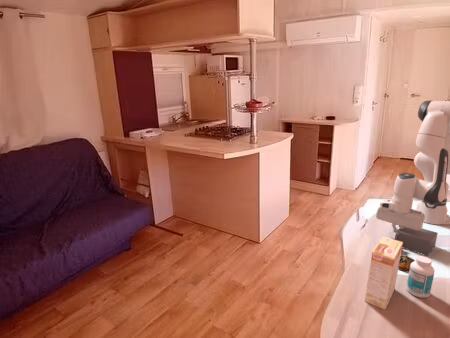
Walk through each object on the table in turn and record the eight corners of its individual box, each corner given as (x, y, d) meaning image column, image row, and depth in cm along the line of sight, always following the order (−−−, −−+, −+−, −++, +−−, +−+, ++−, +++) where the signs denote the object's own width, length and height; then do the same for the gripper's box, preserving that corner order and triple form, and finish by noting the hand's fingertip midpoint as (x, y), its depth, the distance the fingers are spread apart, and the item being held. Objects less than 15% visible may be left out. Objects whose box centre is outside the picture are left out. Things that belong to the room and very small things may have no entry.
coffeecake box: (374, 281, 120) (382, 235, 115) (395, 289, 115) (404, 241, 110) (363, 301, 108) (371, 251, 103) (385, 310, 104) (394, 258, 99)
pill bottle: (422, 286, 117) (429, 254, 114) (433, 299, 110) (441, 266, 107) (402, 285, 118) (408, 253, 114) (411, 297, 111) (418, 264, 107)
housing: (404, 236, 157) (407, 224, 155) (434, 246, 148) (437, 232, 146) (396, 245, 148) (398, 232, 146) (427, 256, 139) (430, 241, 137)
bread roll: (423, 275, 124) (423, 264, 123) (391, 272, 128) (391, 261, 127) (417, 262, 134) (417, 251, 133) (388, 260, 138) (388, 249, 138)
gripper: (427, 211, 145) (422, 237, 148) (381, 199, 159) (377, 224, 162) (423, 214, 140) (418, 242, 144) (376, 202, 154) (372, 227, 158)
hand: (396, 232), depth 153 cm, fingers closed
